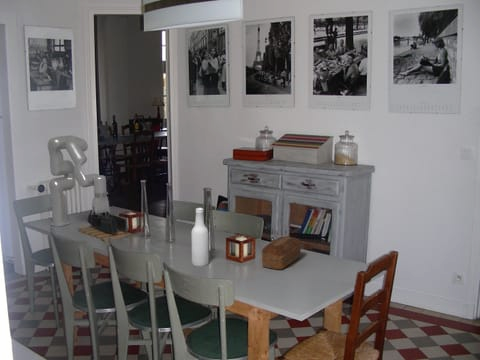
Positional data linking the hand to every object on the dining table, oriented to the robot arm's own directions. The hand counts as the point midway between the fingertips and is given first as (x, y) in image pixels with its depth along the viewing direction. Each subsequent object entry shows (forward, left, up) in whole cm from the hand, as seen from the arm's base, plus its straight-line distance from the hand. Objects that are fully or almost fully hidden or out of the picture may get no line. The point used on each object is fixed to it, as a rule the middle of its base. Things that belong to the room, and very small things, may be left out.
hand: (101, 223), depth 345 cm
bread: (+117, +39, -7) cm, 123 cm away
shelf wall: (0, +9, -5) cm, 10 cm away
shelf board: (0, +1, -7) cm, 7 cm away
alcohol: (+88, +6, -7) cm, 89 cm away
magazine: (0, 0, -5) cm, 5 cm away
